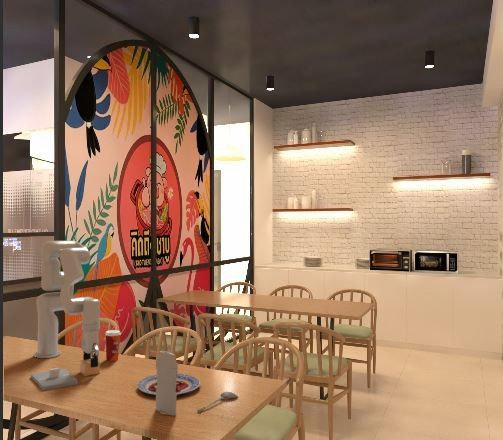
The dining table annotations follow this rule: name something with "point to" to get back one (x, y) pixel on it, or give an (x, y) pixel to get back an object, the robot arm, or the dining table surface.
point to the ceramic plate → (182, 384)
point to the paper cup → (112, 345)
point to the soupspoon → (223, 396)
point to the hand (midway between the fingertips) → (90, 364)
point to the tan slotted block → (88, 368)
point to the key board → (54, 379)
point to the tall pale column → (166, 383)
